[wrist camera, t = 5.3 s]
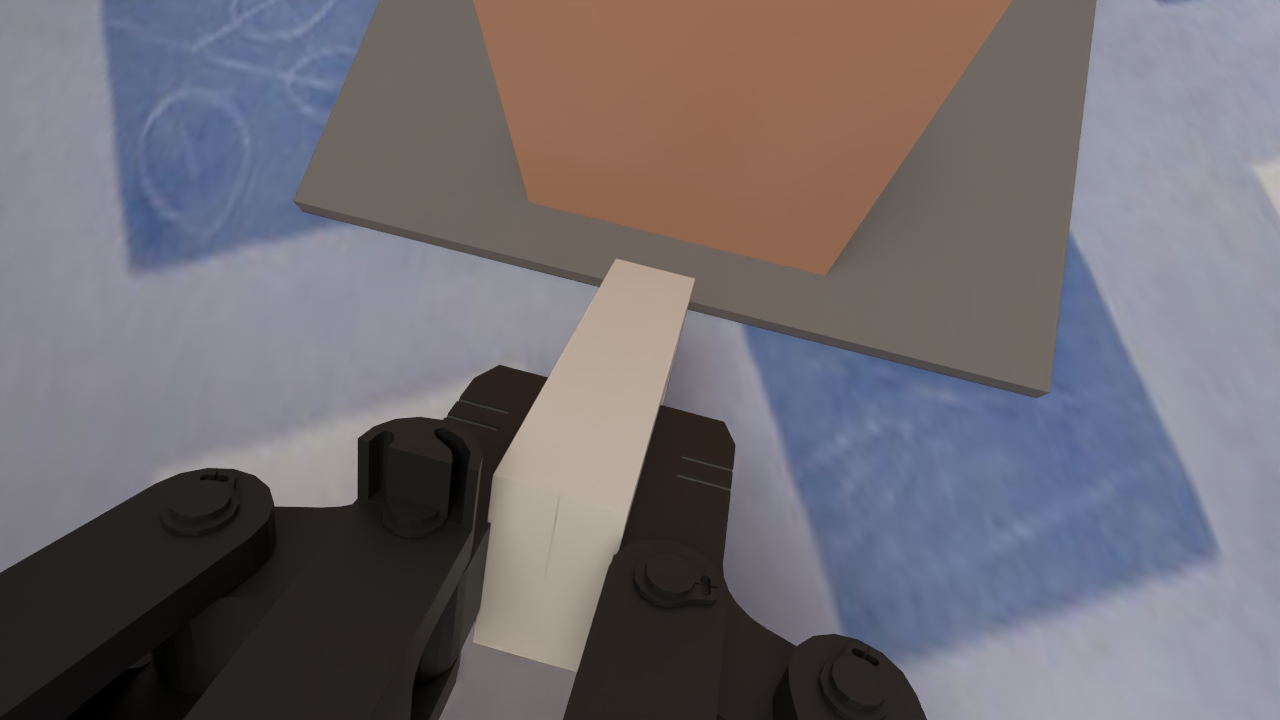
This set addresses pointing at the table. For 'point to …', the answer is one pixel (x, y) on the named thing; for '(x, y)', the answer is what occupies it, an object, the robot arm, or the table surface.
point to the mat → (732, 283)
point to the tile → (726, 110)
